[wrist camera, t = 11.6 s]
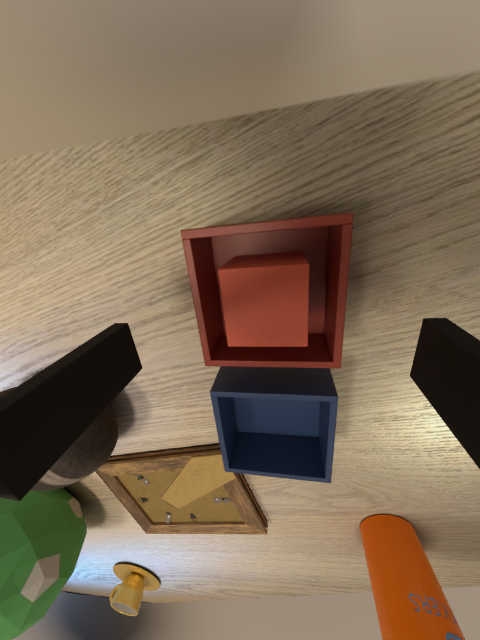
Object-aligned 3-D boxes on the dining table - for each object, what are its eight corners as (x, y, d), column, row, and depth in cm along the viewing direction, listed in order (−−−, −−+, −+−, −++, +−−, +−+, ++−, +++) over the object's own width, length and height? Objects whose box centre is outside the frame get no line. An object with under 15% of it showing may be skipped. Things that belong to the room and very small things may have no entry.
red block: (234, 256, 21) (217, 269, 16) (302, 251, 20) (309, 263, 15) (240, 317, 24) (227, 346, 18) (302, 315, 22) (307, 347, 17)
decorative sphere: (67, 476, 55) (-53, 481, 39) (124, 491, 46) (-4, 505, 31) (24, 592, 46) (-154, 658, 30) (84, 640, 37) (-126, 765, 21)
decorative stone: (102, 352, 29) (21, 411, 20) (153, 434, 34) (107, 512, 25) (3, 378, 35) (-94, 434, 26) (60, 446, 40) (-6, 514, 31)
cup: (146, 563, 53) (132, 598, 48) (168, 589, 57) (158, 624, 52) (105, 560, 56) (88, 592, 51) (129, 585, 60) (115, 618, 55)
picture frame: (225, 442, 32) (97, 457, 39) (222, 454, 30) (89, 468, 37) (268, 522, 38) (150, 523, 45) (267, 536, 37) (145, 535, 43)
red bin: (204, 227, 21) (180, 230, 16) (335, 213, 19) (354, 212, 14) (220, 336, 26) (205, 366, 20) (328, 335, 23) (340, 368, 18)
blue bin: (223, 358, 27) (209, 391, 22) (327, 359, 24) (338, 396, 19) (234, 430, 31) (224, 471, 26) (322, 436, 29) (330, 483, 24)
